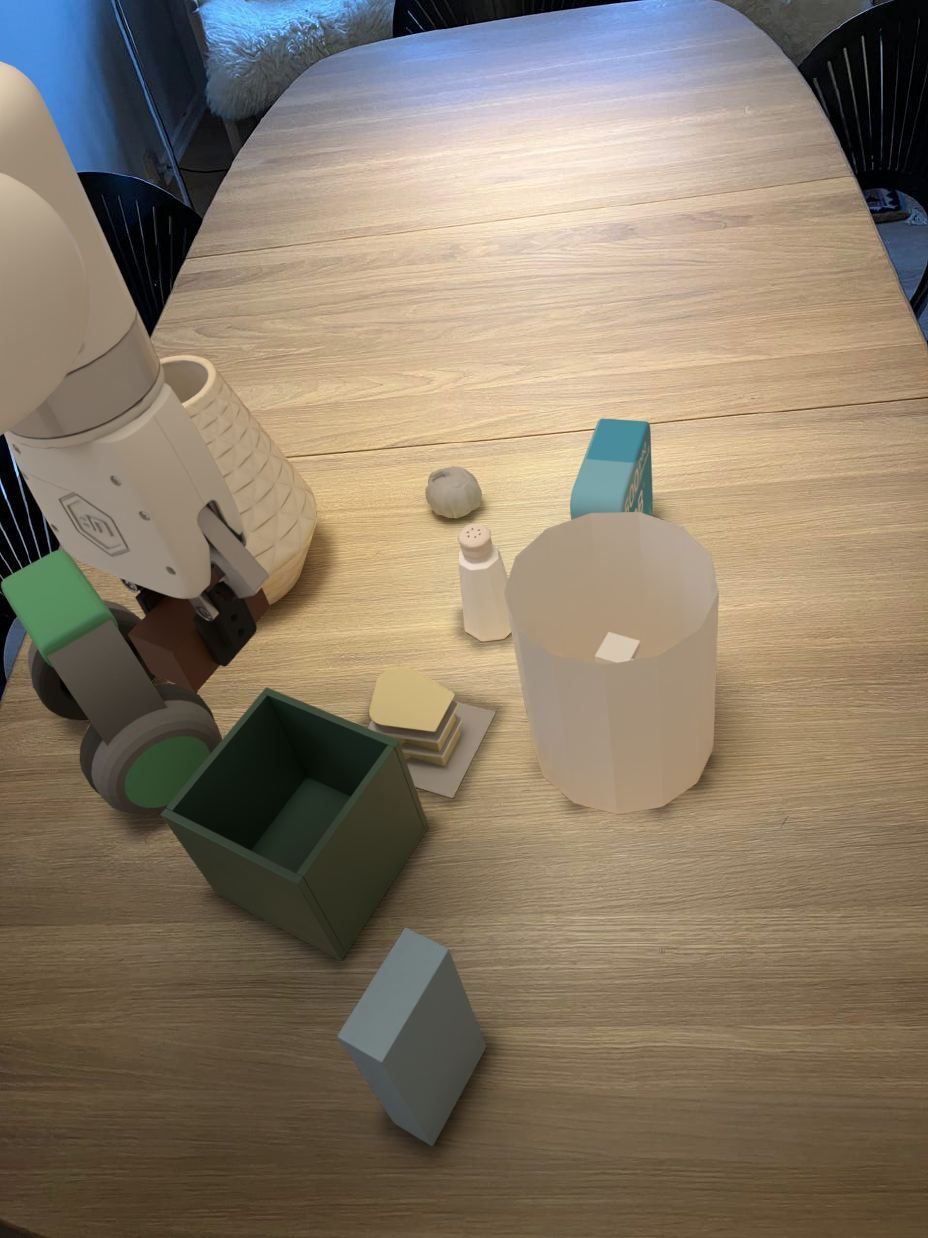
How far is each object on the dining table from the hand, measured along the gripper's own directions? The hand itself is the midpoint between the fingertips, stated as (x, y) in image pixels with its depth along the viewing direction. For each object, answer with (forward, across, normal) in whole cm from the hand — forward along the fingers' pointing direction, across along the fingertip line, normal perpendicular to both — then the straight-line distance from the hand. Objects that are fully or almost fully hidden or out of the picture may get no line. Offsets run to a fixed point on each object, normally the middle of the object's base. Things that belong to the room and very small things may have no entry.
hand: (208, 634), depth 60 cm
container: (+28, +15, +20) cm, 38 cm away
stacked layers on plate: (+28, 0, +13) cm, 31 cm away
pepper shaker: (+28, -1, +27) cm, 39 cm away
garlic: (+28, -12, +39) cm, 50 cm away
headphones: (+28, -22, +3) cm, 36 cm away
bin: (+28, -1, 0) cm, 28 cm away
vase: (+28, -27, +23) cm, 45 cm away
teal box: (+28, +6, +39) cm, 49 cm away
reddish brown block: (+1, 0, 0) cm, 1 cm away
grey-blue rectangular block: (+27, +16, -10) cm, 33 cm away
